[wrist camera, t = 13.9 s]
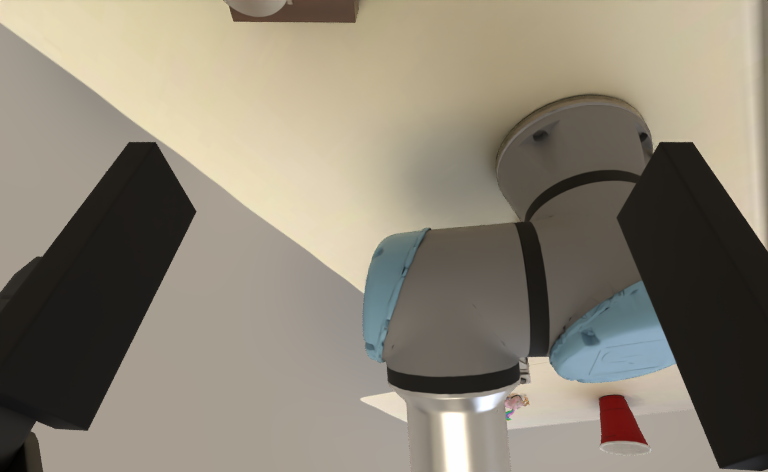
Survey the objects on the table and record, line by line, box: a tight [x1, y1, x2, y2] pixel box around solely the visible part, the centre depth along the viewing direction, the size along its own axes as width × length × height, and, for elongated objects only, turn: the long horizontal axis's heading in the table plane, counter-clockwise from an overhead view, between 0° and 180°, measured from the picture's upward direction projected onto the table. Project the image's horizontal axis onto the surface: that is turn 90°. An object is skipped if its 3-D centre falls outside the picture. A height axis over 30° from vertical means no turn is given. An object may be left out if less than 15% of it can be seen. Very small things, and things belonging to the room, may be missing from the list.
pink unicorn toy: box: [505, 396, 529, 421], centre depth 106 cm, size 6×6×15 cm
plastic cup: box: [599, 395, 651, 455], centre depth 98 cm, size 11×11×12 cm
